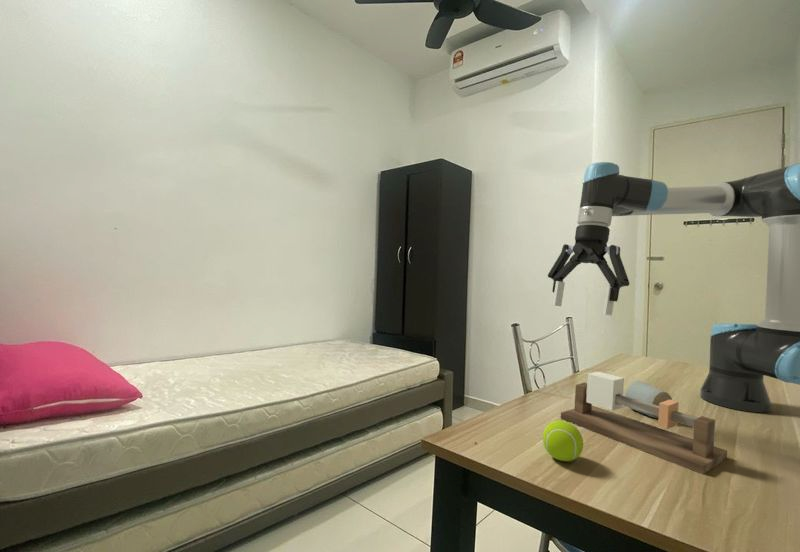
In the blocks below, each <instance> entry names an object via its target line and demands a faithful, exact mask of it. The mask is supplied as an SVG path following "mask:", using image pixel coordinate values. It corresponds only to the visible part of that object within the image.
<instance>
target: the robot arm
mask: <svg viewBox="0 0 800 552" xmlns="http://www.w3.org/2000/svg"><path fill="white" fill-rule="evenodd" d="M583 177H584V178H583V181H582V189H581V191H582V192H581V197H580V202H579V203H580V205H579V210H578V216H577V222H576V223H577V226H576V229H575V235H574V240H575V243H574V245H569V244H565V243H564V244H563V246H562V249H561V252H560V254H559V256H558V257H557V259H556V261H555V262H554V264H553V265H552V267H551V269H550V270H549V272H548V274H547V278H549V279H552V281H553V285H552V291H551V292H552V293H553V299H552V306H556V307H562V303H563V299H564V298H563V297H564V289H565V284H566V283H565V282H564V279H566V277H568V275H569V274H571V272H572V271H573V270H574V269H575V268H576V267H577V266H579V265H581V264H594V265H596V266H597V267H598V268H599V270H600V271H601V273H602V275H603V277H604V278H605V280H606V281H607V282H608V284H609V285H608V286H606V288H605V294H604V299H603V300H604V301H603V308H602V315H608V316H613V309H614V303H615V302H618V300H619V296H620V295H619V294H620V289H621V288H623V287H629V286H630V280H629V278H628V274H627V271H626V269H625V266H624V264H623V261H622V258H621V247H620V246H618V245H615V244H611V245H609V246H608V242H609V238H610V237H609V236H610V231H611V229H610V228H609V227H610V226H611V225H612V218H613V217H626V216H653V215H654V216H656V215H657V216H658V215H660V216H661V215H687V214H688V215H689V214H690V215H691V214H693V215H694V214H709V215H711V216H713V217H736V218H737V217H739V218H740V217H742V218H743V217H745V218H746V217H747V218H757V217H758V218H761V222H762V223H764V224H765V225H766V226H768V227H769V228H768V229H769V230H768V231H769V232H768V249H767V252H768V253H767V272H766V286H765V287H766V291H765V294H766V295H765V310H764V313H765V314H764V318H763V320H762V321H760V322H758V323H755V324H754V323H748V324H747V323H715V324H714V325H713V326H712V327H711V333H710V336H709V337H710V340H709V341H710V343H709V347H710V348H709V349H710V350H709V368H708V369H709V370H708V371H709V372H708V374H707V375H706V378H705V379H704V382H703V383H702V386H701V387H700V395H699V396H700V398H701V399H702V400H704V401H706V402H708V403H711V404H713V405H717V406H721V407H723V408H724V407H725V408H728V409H732V410H733V409H734V410H738V411H742V412H743V411H744V412H751V413H769V412H771V411H772V410H771V409H772V402H771V400H770V397H769V393H768V391H767V387H766V385H765V382H764V376H765V377H769V378H773V379H775V380H776V379H777V380H780V381H781V382H785V383H787V384H788V383H789V384H795V385H800V163H799V162H798V163H793V164H790V165H789V166H785V167H782V168H777V169H773V170H771V171H766V172H763V173H759V174H755V175H751V176H748V177H744V178H741V179H737V180H732V181H731V180H730V181H721V182H720V181H719V182H717V183H714V184H713V185H711V186H710V185H706V186H678V187H668V186H667V184H666V183H665V182H663V181H661V180H660V181H659V180H655V179H652V178H650V179H649V178H641V177H636V176H635V177H633V176H627V175H623V174H620V166H619V165H618V164H616V163H614V162H610V161H609V162H607V161H601V162H599V161H598V162H595V163H592V164H589V165H588V166H587V167H586V169H585V172H584V176H583ZM607 254H608V255H609V259H610V261H611V265H612V268H613V270H614V271H613V270H612V269H611V267H610V265H609V264H608V262H607V260H606V258H605V255H607Z"/></svg>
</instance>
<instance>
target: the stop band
mask: <svg viewBox="0 0 800 552" xmlns="http://www.w3.org/2000/svg"><path fill="white" fill-rule="evenodd" d="M673 411H677V412H679V401H676V400H673V399H672V400H667V401H664V402H661V403H659V419H657V420H658V422H657V423H658V424H657V427H658V428H661V429H664V430H669V429H671V428H674V427H675V426H678V422H676V421H672V420H671V412H673Z"/></svg>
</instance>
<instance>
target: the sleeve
mask: <svg viewBox="0 0 800 552" xmlns="http://www.w3.org/2000/svg"><path fill="white" fill-rule="evenodd" d="M586 383H587V397H586V402H587V403H590V404H592V406H595V407H598V408H601V409H604V410H607V411H610V412H613V411H615V410H618V409H621V408H623V406H624V405H621V404H618V403H615V398H616V395H617V394H618V395H622V396H624V385H625V384H624V383H625V378H624V377H622V376H617V375H613V374H609V373H605V372H601V371H595V372H590V373H587V380H586Z"/></svg>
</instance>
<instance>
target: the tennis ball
mask: <svg viewBox="0 0 800 552" xmlns="http://www.w3.org/2000/svg"><path fill="white" fill-rule="evenodd" d="M542 442H543V446H544V448H545V450H546V452H547V453H548V454H549V455H550V456H551V457H552V458H554V459H555V460H558V461H561V462H572V461H574V460H576V459H578V458H579V457H580V455H581V453H582V452H583V449H584V439H583V436H582V434H581V432H580V430H579V429H578V428H577V426H575V424H573V423H570V422H568V421H565V420H554V421H551V422H550V423H549V424H547V425H546V427H545V428H544V430H543V433H542Z"/></svg>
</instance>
